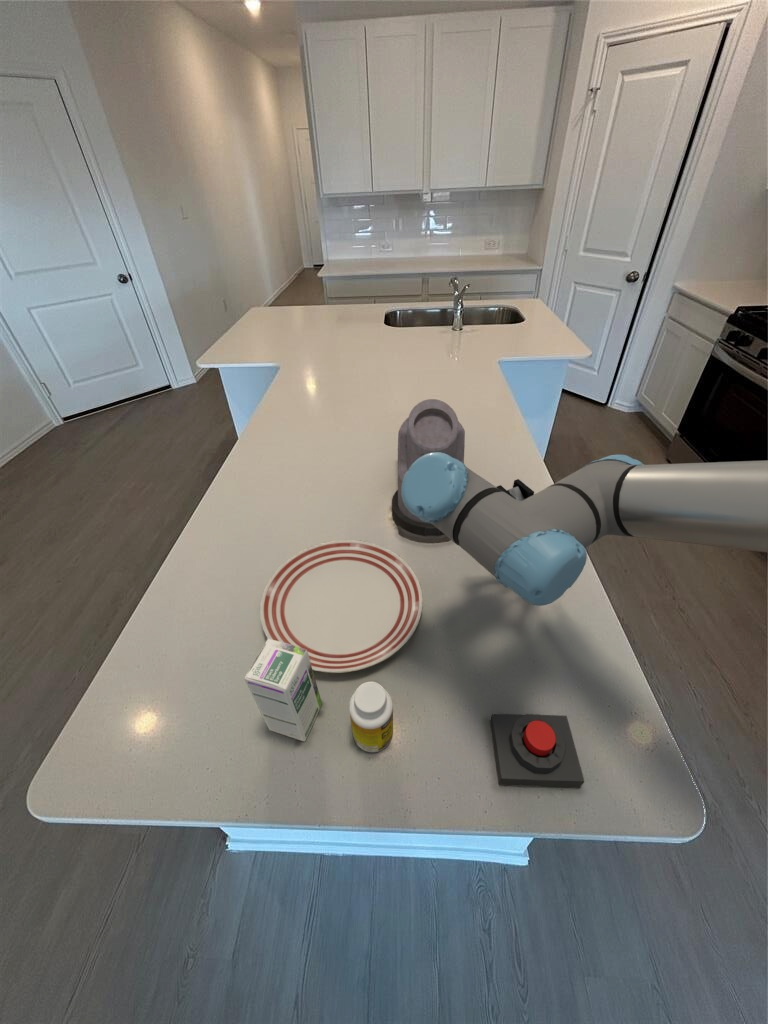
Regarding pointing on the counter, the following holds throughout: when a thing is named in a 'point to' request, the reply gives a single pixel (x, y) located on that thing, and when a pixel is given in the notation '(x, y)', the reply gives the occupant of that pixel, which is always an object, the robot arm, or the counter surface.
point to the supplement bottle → (371, 717)
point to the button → (539, 738)
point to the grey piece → (418, 436)
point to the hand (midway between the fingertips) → (545, 552)
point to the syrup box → (285, 689)
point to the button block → (527, 767)
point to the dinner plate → (343, 604)
